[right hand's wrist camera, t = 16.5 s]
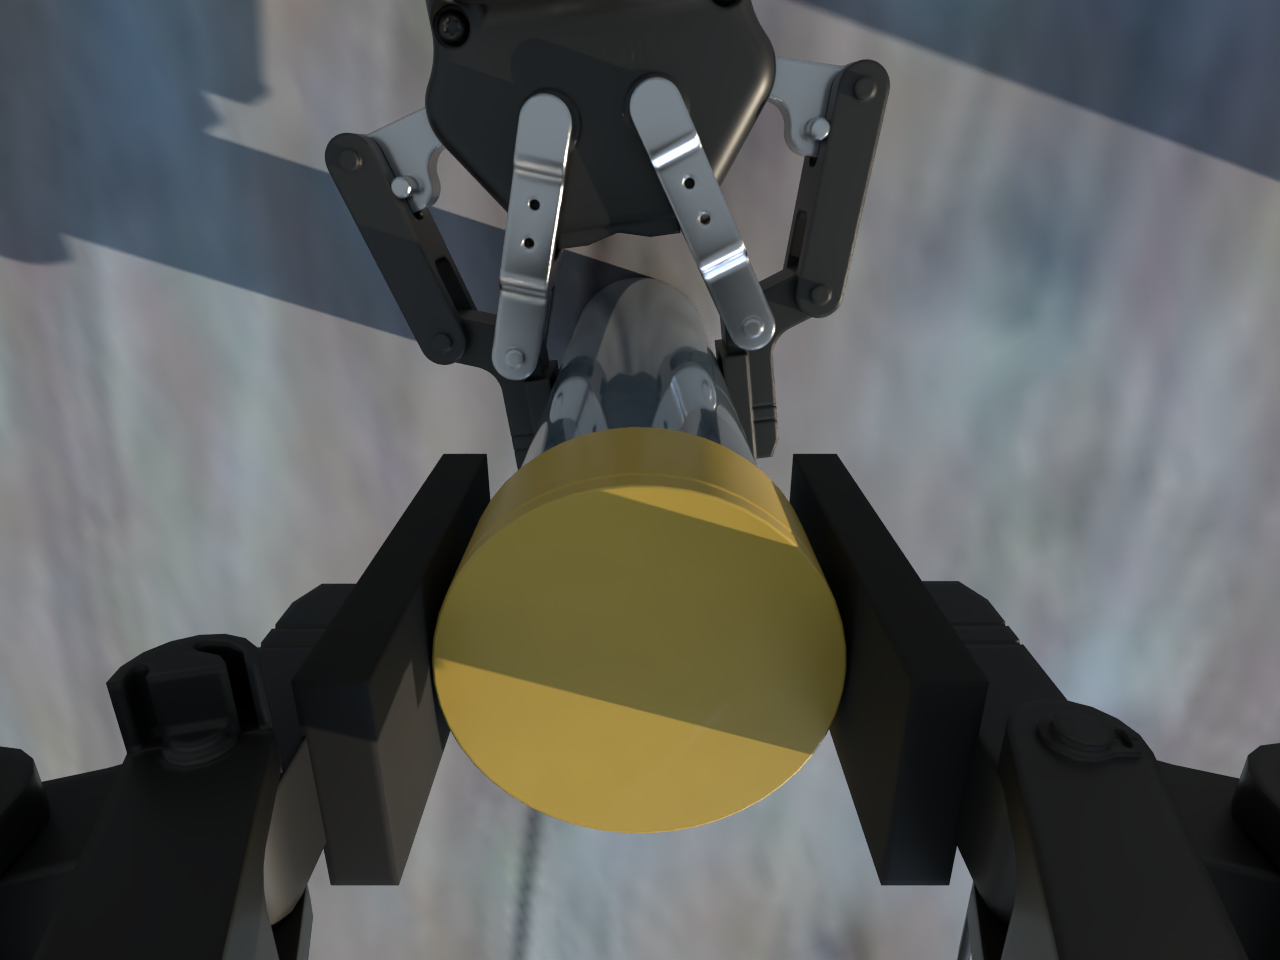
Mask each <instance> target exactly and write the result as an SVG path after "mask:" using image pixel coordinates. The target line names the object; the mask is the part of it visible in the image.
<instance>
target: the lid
mask: <svg viewBox="0 0 1280 960" xmlns="http://www.w3.org/2000/svg"><path fill="white" fill-rule="evenodd" d="M432 668H433V680H434V685H435V689H436V693H437V697H438V701H439V705H440V708H441V710H442V713H443V715H444V717H445V720H446V722H447V725H448V727H449V729H450V730H451V732H452V734H453V735H454V737H455V739H456V741H457V742H458V744H459V746H460V747H461V748H462V749H463V751H464V752H465V753H466V755H467V756H468V757H469V758H470V760H471V761H472V762H473V764H474V765H475V766H476V767H477V768H478V769H480V770H481V771H482V772H483V773H484V774H485V775H486V776H487V777H488V778H489V779H490V780H491V781H492V782H493V783H495V784H496V785H497V786H499V787H500V788H501V789H502V790H504V791H505V792H506V793H508V794H509V795H511V796H512V797H514V798H516V799H517V800H519V801H521V802H522V803H524V804H526V805H527V806H529V807H531V808H533V809H535V810H538V811H540V812H542V813H544V814H546V815H548V816H551V817H554V818H556V819H559V820H562V821H565V822H568V823H571V824H574V825H579V826H583V827H588V828H592V829H597V830H604V831H612V832H621V833H655V832H668V831H675V830H681V829H686V828H692V827H697V826H700V825H703V824H707V823H710V822H714V821H717V820H720V819H723V818H725V817H727V816H730V815H732V814H735V813H737V812H740V811H742V810H744V809H746V808H747V807H749V806H751V805H753V804H755V803H757V802H758V801H760V800H762V799H764V798H765V797H766V796H768V795H769V794H771V793H772V792H774V791H775V790H776V789H778V788H779V787H781V786H782V785H783V784H784V783H785V782H786V781H788V780H789V779H790V778H791V777H792V776H793V775H794V774H795V773H797V772H798V771H799V770H800V769H801V767H802V766H803V765H804V764H805V763H806V762H807V761H808V759H809V758H810V757H811V756H812V755H813V754H814V752H815V751H816V749H817V748H818V746H819V745H820V743H821V742H822V740H823V739H824V737H825V736H826V734H827V732H828V730H829V728H830V726H831V724H832V721H833V719H834V717H835V715H836V713H837V710H838V706H839V703H840V700H841V697H842V693H843V689H844V683H845V676H846V669H847V653H846V640H845V634H844V628H843V622H842V619H841V616H840V613H839V610H838V607H837V604H836V601H835V598H834V596H833V594H832V592H831V589H830V587H829V585H828V583H827V580H826V578H825V576H824V574H823V571H822V569H821V567H820V565H819V562H818V560H817V558H816V556H815V553H814V551H813V549H812V547H811V544H810V542H809V540H808V538H807V535H806V533H805V531H804V529H803V526H802V524H801V522H800V520H799V519H798V517H797V515H796V513H795V511H794V509H793V507H792V506H791V504H790V503H789V501H788V500H787V499H786V497H785V496H784V494H783V493H782V492H781V490H780V489H779V488H778V487H777V486H776V485H775V484H774V483H773V482H772V481H771V480H770V479H769V478H768V477H767V475H766V474H765V473H763V472H762V471H761V470H760V469H758V468H757V467H756V466H755V465H753V464H752V463H751V462H749V461H748V460H747V459H745V458H744V457H742V456H740V455H739V454H737V453H735V452H734V451H732V450H730V449H728V448H727V447H725V446H722V445H720V444H718V443H715V442H713V441H711V440H708V439H706V438H703V437H700V436H696V435H693V434H689V433H685V432H682V431H676V430H669V429H663V428H654V427H627V428H617V429H607V430H603V431H598V432H594V433H590V434H585V435H582V436H579V437H577V438H574V439H571V440H568V441H566V442H563V443H560V444H559V445H557V446H555V447H553V448H551V449H549V450H547V451H545V452H543V453H541V454H540V455H538V456H537V457H535V458H534V459H533V460H531V461H530V462H528V463H527V464H525V465H524V466H523V467H521V468H520V469H519V470H518V471H517V472H516V473H515V474H514V475H513V476H512V477H511V478H509V479H508V480H507V481H506V482H505V483H504V484H503V486H502V487H501V488H500V489H499V491H498V492H497V493H496V494H495V496H494V497H493V498H492V499H491V501H490V502H489V504H488V506H487V508H486V509H485V511H484V513H483V514H482V516H481V518H480V520H479V522H478V524H477V526H476V529H475V531H474V533H473V535H472V538H471V540H470V542H469V544H468V546H467V549H466V551H465V553H464V555H463V558H462V560H461V562H460V564H459V567H458V569H457V571H456V573H455V576H454V578H453V580H452V582H451V584H450V587H449V589H448V591H447V594H446V596H445V599H444V601H443V604H442V606H441V608H440V611H439V614H438V618H437V622H436V627H435V631H434V635H433V648H432Z"/></svg>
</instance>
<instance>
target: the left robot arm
mask: <svg viewBox="0 0 1280 960" xmlns="http://www.w3.org/2000/svg"><path fill="white" fill-rule="evenodd" d="M426 5H427V10H428V15H429V20H430V25H431V30H432V36H433V45H434V54H433V66H432V71H431V76H430V79H429V82H428V86H427V89H426V95H425V107H424V108H422V109H420V110H418V111H416V112H414V113H412V114H410V115H408V116H405V117H403V118H401V119H399V120H397V121H395V122H393V123H391V124H388V125H386V126H384V127H382V128H380V129H378V130H376V131H374V132H372V133H369V134H366V135H364V134H353V133H342V134H339V135H337V136H335V137H334V138H332V139H331V140H330V142H329V143H328V145H327V147H326V151H325V162H326V166H327V168H328V170H329V172H330V174H331V176H332V178H333V180H334V182H335V184H336V186H337V188H338V190H339V192H340V194H341V196H342V197H343V199H344V201H345V203H346V205H347V207H348V209H349V211H350V213H351V215H352V217H353V219H354V221H355V223H356V224H357V226H358V228H359V230H360V232H361V234H362V236H363V238H364V240H365V242H366V244H367V246H368V248H369V250H370V251H371V253H372V255H373V257H374V259H375V261H376V263H377V265H378V267H379V269H380V271H381V273H382V275H383V277H384V278H385V280H386V282H387V284H388V286H389V288H390V290H391V292H392V294H393V296H394V298H395V300H396V302H397V303H398V305H399V307H400V309H401V311H402V313H403V315H404V317H405V319H406V321H407V323H408V325H409V327H410V329H411V330H412V332H413V334H414V336H415V338H416V340H417V342H418V344H419V346H420V348H421V350H422V352H423V353H424V355H425V356H426V357H427V358H428V359H429V360H431V361H432V362H434V363H437V364H441V365H448V364H452V363H454V362H456V363H461V364H465V365H470V366H475V367H479V368H482V369H484V370H487V371H488V372H490V373H491V374H492V375H493V376H494V377H495V378H496V379H497V380H498V382H499V384H500V386H501V388H502V392H503V397H504V402H505V407H506V412H507V417H508V422H509V427H510V432H511V436H512V442H513V447H514V450H515V457H516V462H517V467H518V470H519V469H520V468H521V467H522V464H523V462H524V459H525V456H526V454H527V451H528V449H529V446H530V444H531V441H532V438H533V436H534V433H535V431H536V428H537V425H538V423H539V420H540V418H541V415H542V413H543V410H544V407H545V405H546V402H547V400H548V397H549V395H550V392H551V389H552V387H553V384H554V382H555V379H556V376H557V374H558V371H559V369H558V363H557V360H552V361H549V358H548V353H547V347H546V346H547V341H548V335H549V329H550V323H551V316H552V310H553V304H554V298H555V292H556V286H557V282H558V278H559V273H560V268H561V262H562V256H563V250H564V248H571V247H579V246H586V245H590V244H592V243H594V242H597V241H599V240H601V239H604V238H606V237H608V236H611V235H613V234H615V233H627V234H634V235H641V236H648V237H653V236H660V235H668V234H675V233H681V232H680V229H681V231H682V234H683V236H684V238H685V240H686V242H687V245H688V247H689V249H690V251H691V253H692V256H693V258H694V260H695V262H696V264H697V266H698V269H699V271H700V273H701V275H702V277H703V279H704V282H705V284H706V286H707V288H708V291H709V293H710V295H711V297H712V299H713V302H714V304H715V306H716V308H717V310H718V313H719V315H720V323H721V334H722V339H721V340H715V348H716V358H717V362H718V365H719V367H720V370H721V373H722V375H723V378H724V380H725V383H726V386H727V388H728V391H729V393H730V396H731V399H732V401H733V404H734V406H735V409H736V412H737V414H738V417H739V419H740V422H741V425H742V427H743V430H744V432H745V435H746V438H747V440H748V443H749V445H750V448H751V451H752V453H753V456H754V458H755V461H756V459H757V458H765V457H773V454H774V451H775V448H776V445H777V442H778V426H777V411H776V397H775V383H774V368H773V349H774V346H775V344H776V342H777V340H778V338H779V337H780V336H781V335H782V334H783V333H784V332H785V331H786V330H788V329H789V328H791V327H793V326H795V325H797V324H799V323H801V322H803V321H805V320H807V319H809V318H811V317H814V318H822V317H826V316H828V315H830V314H832V313H833V312H835V311H836V310H837V309H838V307H839V306H840V304H841V302H842V299H843V295H844V291H845V287H846V282H847V278H848V273H849V269H850V264H851V260H852V255H853V251H854V246H855V242H856V237H857V233H858V229H859V224H860V220H861V215H862V211H863V206H864V202H865V197H866V193H867V188H868V184H869V179H870V175H871V171H872V166H873V162H874V157H875V153H876V148H877V144H878V139H879V135H880V130H881V126H882V121H883V117H884V113H885V108H886V104H887V99H888V95H889V89H890V81H889V77H888V74H887V72H886V70H885V69H884V67H883V66H882V65H881V64H879V63H878V62H876V61H873V60H860V61H857V62H853V63H850V64H847V65H845V66H838V65H831V64H824V63H818V62H811V61H804V60H798V59H791V58H784V57H778V56H775V53H774V49H773V46H772V44H771V42H770V40H769V38H768V36H767V35H766V33H765V32H764V30H763V28H762V27H761V25H760V23H759V21H758V19H757V17H756V14H755V12H754V9H753V6H752V2H751V0H426ZM766 101H768V102H770V103H772V104H774V105H775V106H776V107H777V108H778V109H779V110H780V112H781V114H782V116H783V119H784V138H785V142H786V144H787V146H788V147H789V149H790V150H791V151H792V152H794V153H795V154H797V155H800V156H804V157H805V158H804V164H803V169H802V174H801V179H800V184H799V189H798V194H797V200H796V205H795V210H794V215H793V220H792V225H791V231H790V236H789V241H788V246H787V251H786V256H785V262H784V267H783V270H782V271H780V272H778V273H776V274H774V275H772V276H770V277H768V278H766V279H764V280H762V281H760V282H758V279H757V277H756V275H755V272H754V270H753V268H752V266H751V263H750V261H749V258H748V255H747V252H746V249H745V246H744V243H743V241H742V238H741V236H740V234H739V231H738V229H737V227H736V224H735V222H734V220H733V217H732V215H731V213H730V210H729V208H728V206H727V203H726V201H725V199H724V196H723V194H722V192H721V189H720V186H721V184H722V182H723V180H724V178H725V177H726V175H727V173H728V171H729V169H730V167H731V166H732V164H733V162H734V160H735V158H736V156H737V155H738V153H739V151H740V149H741V147H742V145H743V144H744V142H745V140H746V138H747V136H748V134H749V133H750V131H751V129H752V127H753V125H754V123H755V122H756V120H757V118H758V116H759V114H760V112H761V111H762V109H763V107H764V105H765V103H766ZM445 148H446V149H447V150H448V151H449V152H450V153H451V154H452V155H453V156H454V157H455V158H456V159H457V160H458V161H459V162H460V163H461V164H462V165H463V167H464V168H465V169H466V170H467V171H468V172H469V173H470V174H471V175H472V176H473V177H474V178H475V179H476V180H477V181H478V182H479V183H480V184H481V185H482V186H483V187H484V188H485V190H486V191H487V192H488V193H489V194H490V195H491V196H492V197H493V198H494V199H495V200H496V201H497V202H498V203H499V204H500V205H501V206H502V207H503V208H504V209H505V210H506V212H507V213H508V216H507V224H506V231H505V239H504V246H503V254H502V261H501V269H500V278H499V285H500V298H499V305H498V312H497V315H494V314H490V313H486V312H481V311H477V309H476V307H475V305H474V302H473V300H472V298H471V296H470V294H469V292H468V290H467V288H466V286H465V284H464V282H463V280H462V278H461V276H460V273H459V271H458V269H457V267H456V265H455V263H454V261H453V259H452V257H451V255H450V253H449V251H448V249H447V247H446V244H445V242H444V240H443V238H442V236H441V234H440V232H439V230H438V228H437V226H436V224H435V222H434V220H433V218H432V216H431V213H430V211H429V209H428V208H430V207H431V206H433V205H434V204H435V203H436V201H437V200H438V198H439V195H440V181H439V178H438V175H437V160H438V157H439V155H440V154H441V152H442V151H443V150H444V149H445ZM756 464H757V461H756Z"/></svg>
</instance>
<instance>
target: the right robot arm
mask: <svg viewBox="0 0 1280 960" xmlns="http://www.w3.org/2000/svg"><path fill="white" fill-rule="evenodd" d="M489 502H490V491H489V478H488V464H487V454H443V455H442V457H441V458H440V460H439V461H438V463H437V464H436V466H435V467H434V469H433V470H432V472H431V473H430V475H429V476H428V478H427V479H426V481H425V482H424V484H423V485H422V487H421V488H420V490H419V491H418V493H417V494H416V496H415V497H414V499H413V500H412V502H411V503H410V505H409V506H408V508H407V509H406V511H405V512H404V514H403V515H402V517H401V518H400V520H399V521H398V523H397V524H396V525H395V527H394V528H393V530H392V531H391V533H390V534H389V536H388V537H387V539H386V540H385V542H384V543H383V545H382V546H381V548H380V549H379V551H378V552H377V554H376V555H375V557H374V558H373V560H372V561H371V563H370V564H369V566H368V567H367V569H366V570H365V572H364V573H363V575H362V576H361V578H360V579H359V581H358V582H357V584H321V585H319V586H318V587H316V588H315V589H313V590H312V591H310V592H308V593H307V594H305V595H304V596H302V597H301V598H299V599H297V600H296V601H294V602H293V603H292V604H291V605H290V607H289V608H288V609H287V610H286V612H285V613H284V614H283V616H282V617H281V618H280V619H279V621H278V622H277V623H276V624H275V625H276V627H275V629H271V631H270V632H269V633H268V635H267V636H266V637H265V638H264V640H263V641H262V642H261V647H256V646H255V645H253V644H252V643H251V642H250V641H248V640H247V639H246V638H242V637H238V636H233V635H228V634H210V635H197V636H193V637H188V638H184V639H179V640H175V641H171V642H168V643H166V644H163V645H161V646H158V647H156V648H153V649H151V650H148V651H146V652H143V653H142V654H140V655H138V656H137V657H135V658H134V659H132V660H131V661H129V662H127V663H126V664H124V665H123V666H121V667H120V668H119V669H118V670H117V671H116V672H115V674H114V675H113V676H112V677H111V678H110V679H109V680H108V681H107V683H106V685H107V688H108V691H109V695H110V698H111V701H112V705H113V708H114V711H115V714H116V718H117V721H118V724H119V728H120V731H121V734H122V738H123V741H124V744H125V748H126V751H127V755H126V757H125V759H124V762H123V764H121V765H117V766H114V767H110V768H106V769H101V770H96V771H92V772H87V773H82V774H77V775H73V776H68V777H63V778H58V779H54V780H49V781H44V782H41V779H40V777H39V774H38V771H37V768H36V765H35V763H34V760H33V758H31V757H30V756H29V755H28V754H26V753H25V752H24V751H22V750H21V749H15V748H8V747H0V960H308V956H309V947H310V938H311V930H312V921H313V913H312V906H311V899H310V894H309V890H308V885H307V883H308V881H309V879H310V876H311V874H312V872H313V870H314V868H315V866H316V863H317V861H318V859H319V857H320V855H321V853H322V850H323V848H324V853H325V858H326V863H327V868H328V873H329V878H330V883H331V885H399V883H400V880H401V877H402V874H403V871H404V868H405V865H406V862H407V859H408V856H409V853H410V850H411V847H412V844H413V841H414V838H415V835H416V832H417V829H418V826H419V823H420V820H421V817H422V814H423V811H424V808H425V805H426V802H427V799H428V796H429V793H430V790H431V787H432V784H433V781H434V778H435V775H436V772H437V769H438V766H439V763H440V760H441V757H442V754H443V751H444V748H445V745H446V742H447V739H448V736H449V733H450V729H449V727H448V725H447V722H446V720H445V717H444V715H443V713H442V710H441V708H440V705H439V701H438V697H437V693H436V689H435V685H434V680H433V668H432V648H433V635H434V631H435V627H436V622H437V618H438V614H439V611H440V608H441V606H442V604H443V601H444V599H445V596H446V594H447V591H448V589H449V587H450V584H451V582H452V580H453V578H454V576H455V573H456V571H457V569H458V567H459V564H460V562H461V560H462V558H463V555H464V553H465V551H466V549H467V546H468V544H469V542H470V540H471V538H472V535H473V533H474V531H475V529H476V526H477V524H478V522H479V520H480V518H481V516H482V514H483V513H484V511H485V509H486V508H487V506H488V504H489ZM790 504H791V506H792V507H793V509H794V511H795V513H796V515H797V517H798V519H799V520H800V522H801V524H802V526H803V529H804V531H805V533H806V535H807V538H808V540H809V542H810V544H811V547H812V549H813V551H814V553H815V556H816V558H817V560H818V562H819V565H820V567H821V569H822V571H823V574H824V576H825V578H826V580H827V583H828V585H829V587H830V589H831V592H832V594H833V596H834V598H835V601H836V604H837V607H838V610H839V613H840V616H841V619H842V622H843V628H844V634H845V640H846V653H847V669H846V676H845V683H844V689H843V693H842V697H841V700H840V703H839V706H838V710H837V713H836V715H835V717H834V719H833V721H832V724H831V726H830V728H829V730H830V733H831V736H832V739H833V742H834V745H835V748H836V751H837V754H838V757H839V760H840V763H841V766H842V769H843V772H844V775H845V778H846V781H847V784H848V787H849V790H850V793H851V796H852V799H853V802H854V805H855V808H856V811H857V814H858V817H859V820H860V823H861V826H862V829H863V832H864V835H865V838H866V841H867V844H868V847H869V850H870V853H871V856H872V859H873V862H874V865H875V868H876V871H877V874H878V877H879V880H880V883H881V885H949V883H950V878H951V873H952V868H953V863H954V858H955V853H956V848H957V846H958V849H959V851H960V853H961V855H962V857H963V859H964V861H965V864H966V866H967V868H968V870H969V872H970V874H971V877H972V879H973V885H972V890H971V894H970V899H969V904H968V909H967V913H966V918H965V923H964V927H963V932H962V937H961V942H960V946H959V952H958V959H957V960H969V959H970V955H971V954H972V960H1280V743H1277V744H1269V745H1261V746H1259V747H1258V748H1257V749H1256V750H1254V751H1253V752H1252V753H1250V754H1249V755H1248V757H1247V760H1246V763H1245V765H1244V768H1243V771H1242V774H1241V777H1240V779H1239V778H1234V777H1229V776H1224V775H1220V774H1215V773H1210V772H1205V771H1201V770H1196V769H1191V768H1186V767H1181V766H1177V765H1172V764H1169V763H1165V762H1161V761H1158V760H1156V758H1155V756H1154V754H1153V752H1152V751H1151V749H1150V748H1149V747H1148V745H1147V744H1146V743H1145V741H1144V740H1143V739H1142V737H1141V736H1140V735H1139V734H1138V733H1136V732H1135V731H1134V730H1132V729H1131V728H1130V727H1128V726H1127V725H1126V724H1124V723H1123V722H1122V721H1120V720H1119V719H1117V718H1115V717H1113V716H1111V715H1108V714H1106V713H1104V712H1102V711H1100V710H1098V709H1095V708H1093V707H1090V706H1086V705H1082V704H1079V703H1075V702H1071V701H1068V700H1067V699H1066V698H1065V697H1064V695H1063V694H1062V693H1061V692H1060V690H1059V689H1058V688H1057V687H1056V685H1055V684H1054V683H1053V682H1052V680H1051V679H1050V678H1049V676H1048V675H1047V674H1046V673H1045V671H1044V670H1043V669H1042V668H1041V666H1040V665H1039V664H1038V663H1037V661H1036V660H1035V659H1034V658H1033V656H1032V655H1031V654H1030V652H1029V651H1028V650H1027V649H1026V647H1025V646H1024V645H1020V643H1019V639H1018V637H1017V636H1016V635H1015V634H1014V632H1013V631H1012V630H1011V629H1010V627H1009V626H1005V621H1004V620H1003V618H1002V617H1001V616H1000V615H999V613H998V612H997V611H996V610H995V608H994V607H993V606H992V605H991V603H990V602H989V601H988V600H987V599H986V598H984V597H982V596H981V595H979V594H978V593H976V592H975V591H973V590H971V589H970V588H968V587H967V586H965V585H964V584H962V583H960V582H959V581H921V579H920V578H919V576H918V575H917V573H916V572H915V570H914V569H913V567H912V566H911V564H910V563H909V561H908V560H907V558H906V557H905V555H904V554H903V552H902V551H901V549H900V548H899V546H898V545H897V543H896V542H895V540H894V539H893V537H892V536H891V534H890V533H889V531H888V530H887V528H886V527H885V525H884V524H883V523H882V521H881V520H880V518H879V517H878V515H877V514H876V512H875V511H874V509H873V508H872V506H871V505H870V503H869V502H868V500H867V499H866V497H865V496H864V494H863V493H862V491H861V490H860V488H859V487H858V485H857V484H856V482H855V481H854V479H853V478H852V476H851V475H850V473H849V472H848V470H847V469H846V467H845V466H844V464H843V463H842V461H841V460H840V458H839V457H838V455H837V454H793V465H792V478H791V491H790Z"/></svg>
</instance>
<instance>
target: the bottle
mask: <svg viewBox="0 0 1280 960" xmlns="http://www.w3.org/2000/svg"><path fill="white" fill-rule="evenodd" d="M627 427H654V428H663V429H669V430H676V431H682V432H685V433H689V434H693V435H696V436H700V437H703V438H706V439H708V440H711V441H713V442H715V443H718V444H720V445H722V446H725V447H727V448H728V449H730V450H732V451H734V452H735V453H737V454H739V455H740V456H742V457H744V458H745V459H747V460H748V461H749V462H751V463H752V464H753V465H755V466H756V467H757V468H758V466H757V464H756V461H755V458H754V456H753V453H752V451H751V448H750V445H749V443H748V440H747V438H746V435H745V432H744V430H743V427H742V425H741V422H740V419H739V417H738V414H737V412H736V409H735V406H734V404H733V401H732V399H731V396H730V393H729V391H728V388H727V386H726V383H725V380H724V378H723V375H722V373H721V370H720V367H719V365H718V362H717V359H716V357H715V354H714V352H713V349H712V346H711V344H710V341H709V339H708V336H707V333H706V331H705V328H704V326H703V323H702V320H701V318H700V316H699V314H698V312H697V310H696V308H695V307H694V305H693V304H692V302H691V301H690V300H689V299H688V298H687V297H686V296H685V295H684V294H683V293H682V292H681V291H679V290H678V289H676V288H675V287H673V286H672V285H670V284H668V283H665V282H663V281H660V280H657V279H652V278H644V277H636V278H628V279H623V280H620V281H617V282H614V283H612V284H610V285H608V286H606V287H605V288H603V289H602V290H600V291H599V292H598V293H597V294H596V295H595V296H594V297H592V298H591V300H590V301H589V302H588V303H587V305H586V306H585V308H584V309H583V311H582V313H581V315H580V317H579V320H578V322H577V325H576V327H575V330H574V333H573V335H572V338H571V340H570V343H569V346H568V348H567V351H566V353H565V356H564V358H563V361H562V364H561V366H560V369H559V371H558V374H557V376H556V379H555V382H554V384H553V387H552V389H551V392H550V395H549V397H548V400H547V402H546V405H545V407H544V410H543V413H542V415H541V418H540V420H539V423H538V425H537V428H536V431H535V433H534V436H533V438H532V441H531V444H530V446H529V449H528V451H527V454H526V456H525V459H524V462H523V464H522V467H523V466H524V465H525V464H527V463H528V462H530V461H531V460H533V459H534V458H535V457H537V456H538V455H540V454H541V453H543V452H545V451H547V450H549V449H551V448H553V447H555V446H557V445H559V444H560V443H563V442H566V441H568V440H571V439H574V438H577V437H579V436H582V435H585V434H590V433H594V432H598V431H603V430H607V429H617V428H627Z"/></svg>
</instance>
